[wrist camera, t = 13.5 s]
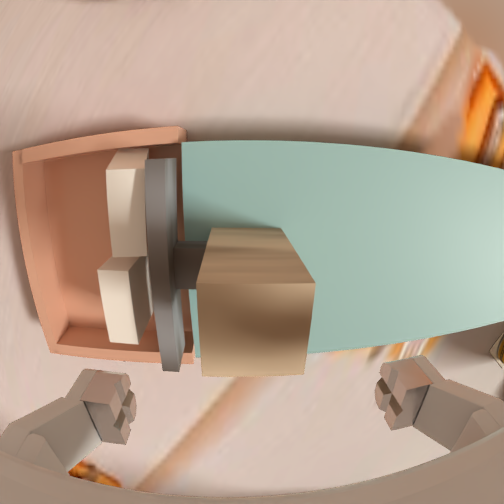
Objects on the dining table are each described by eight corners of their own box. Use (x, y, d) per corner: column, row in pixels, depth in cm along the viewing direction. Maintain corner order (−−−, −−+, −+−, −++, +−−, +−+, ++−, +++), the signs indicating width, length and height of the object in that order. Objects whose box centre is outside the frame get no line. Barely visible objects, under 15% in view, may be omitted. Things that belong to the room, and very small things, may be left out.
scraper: (273, 344, 20) (293, 434, 13) (170, 343, 20) (146, 432, 12) (284, 159, 17) (325, 162, 9) (159, 158, 16) (102, 163, 9)
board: (508, 298, 26) (529, 313, 22) (200, 327, 24) (195, 357, 20) (529, 178, 22) (555, 184, 18) (191, 144, 20) (181, 142, 16)
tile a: (138, 344, 18) (110, 342, 18) (154, 308, 23) (130, 306, 23) (128, 270, 17) (97, 269, 16) (149, 245, 21) (123, 245, 21)
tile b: (147, 256, 17) (112, 257, 16) (148, 218, 21) (120, 219, 20) (144, 168, 14) (105, 170, 14) (148, 147, 18) (118, 148, 18)
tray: (197, 337, 24) (193, 364, 21) (67, 331, 24) (50, 352, 20) (186, 130, 20) (177, 125, 16) (38, 150, 19) (12, 151, 16)
